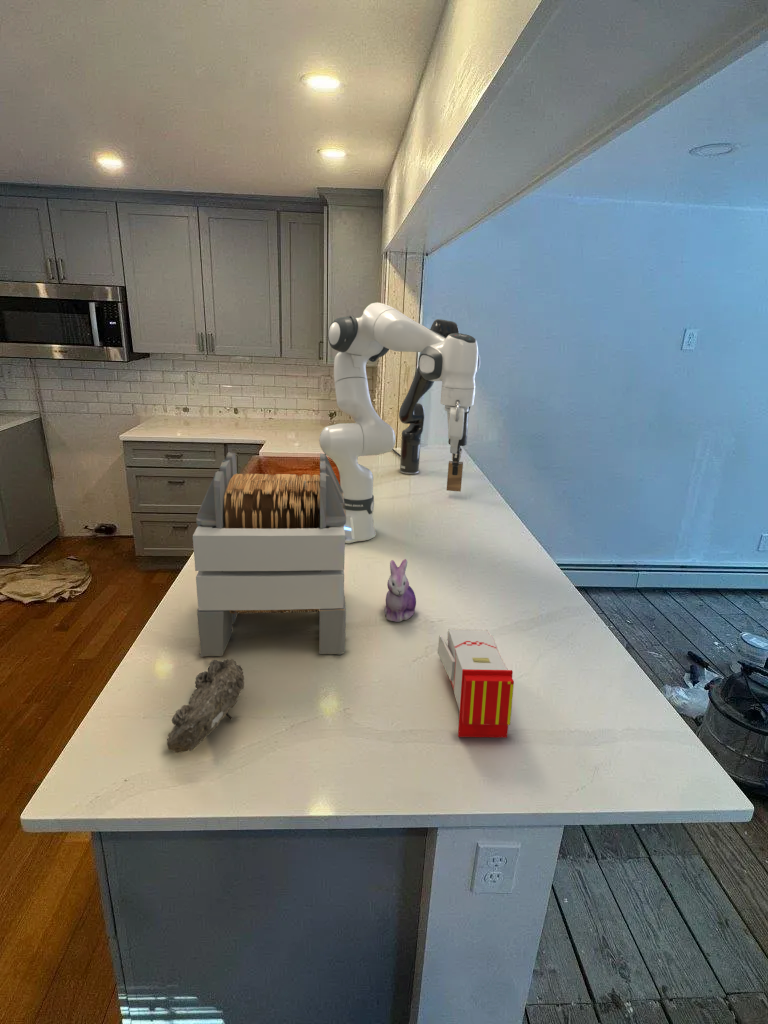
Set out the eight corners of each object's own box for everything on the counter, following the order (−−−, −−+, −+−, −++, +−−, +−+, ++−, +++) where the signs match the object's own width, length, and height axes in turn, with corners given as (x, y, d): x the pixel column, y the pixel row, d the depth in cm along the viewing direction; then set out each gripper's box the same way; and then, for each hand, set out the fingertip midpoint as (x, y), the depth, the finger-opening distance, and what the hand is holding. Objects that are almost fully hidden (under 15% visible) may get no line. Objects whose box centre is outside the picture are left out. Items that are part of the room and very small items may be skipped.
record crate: (222, 587, 157) (213, 443, 143) (340, 586, 160) (343, 445, 147) (197, 659, 125) (183, 482, 111) (345, 655, 129) (349, 484, 115)
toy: (488, 613, 130) (523, 677, 101) (484, 667, 133) (517, 744, 104) (435, 612, 130) (455, 676, 101) (432, 666, 133) (451, 743, 103)
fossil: (192, 660, 117) (244, 628, 112) (224, 691, 120) (276, 661, 115) (142, 746, 98) (202, 712, 93) (182, 779, 101) (242, 748, 96)
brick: (460, 491, 238) (462, 464, 234) (446, 490, 238) (448, 463, 235) (460, 488, 241) (463, 461, 238) (447, 487, 242) (449, 460, 238)
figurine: (392, 627, 141) (395, 572, 136) (374, 608, 149) (376, 556, 144) (425, 619, 145) (429, 566, 140) (405, 601, 154) (408, 550, 149)
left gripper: (471, 404, 141) (465, 458, 145) (468, 393, 160) (463, 441, 164) (445, 403, 141) (441, 457, 146) (445, 392, 160) (441, 440, 165)
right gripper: (467, 437, 225) (463, 478, 230) (468, 430, 238) (464, 470, 244) (448, 435, 226) (444, 477, 232) (450, 429, 239) (447, 468, 245)
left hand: (453, 448), depth 155 cm, fingers open, 8 cm apart
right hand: (455, 473), depth 238 cm, fingers closed on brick, 4 cm apart
